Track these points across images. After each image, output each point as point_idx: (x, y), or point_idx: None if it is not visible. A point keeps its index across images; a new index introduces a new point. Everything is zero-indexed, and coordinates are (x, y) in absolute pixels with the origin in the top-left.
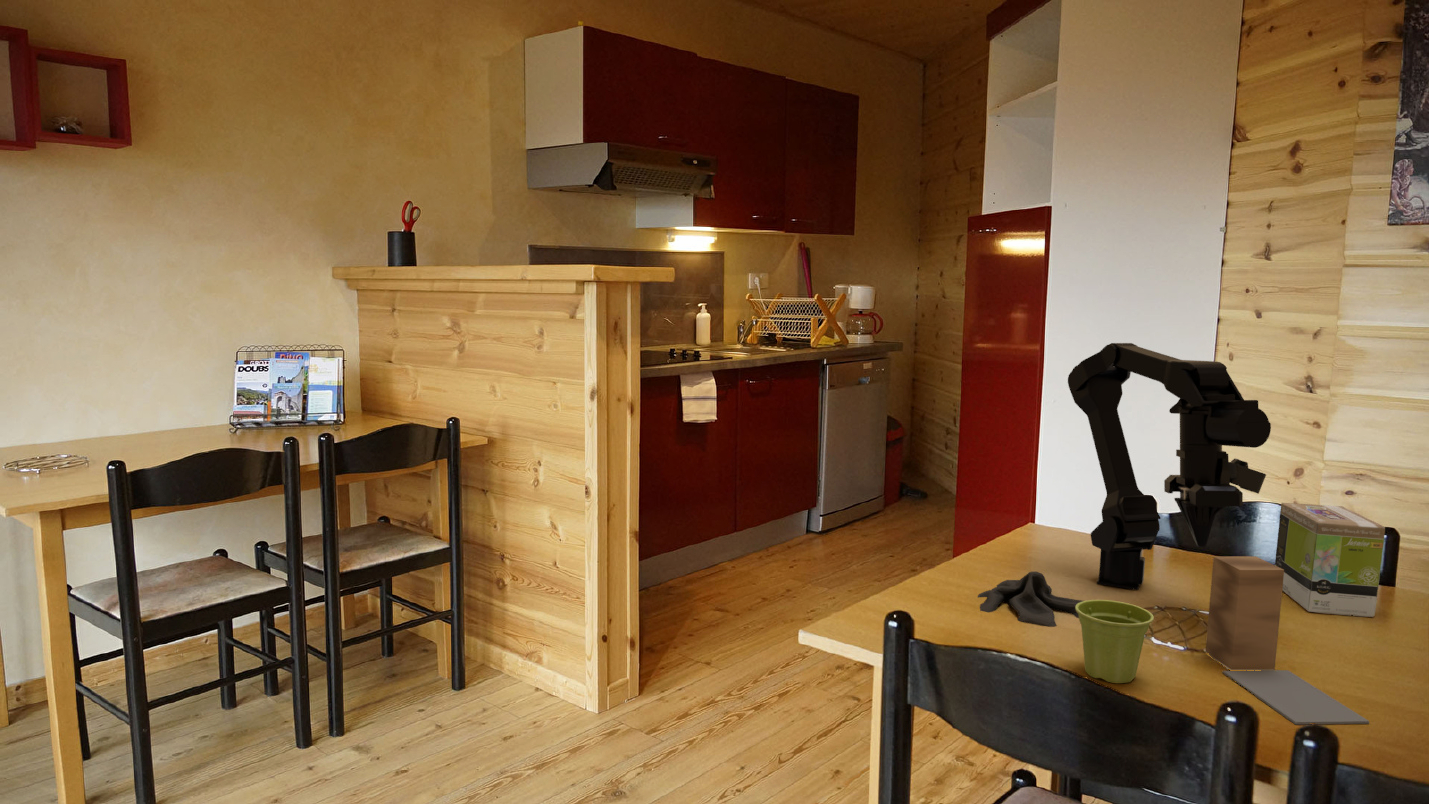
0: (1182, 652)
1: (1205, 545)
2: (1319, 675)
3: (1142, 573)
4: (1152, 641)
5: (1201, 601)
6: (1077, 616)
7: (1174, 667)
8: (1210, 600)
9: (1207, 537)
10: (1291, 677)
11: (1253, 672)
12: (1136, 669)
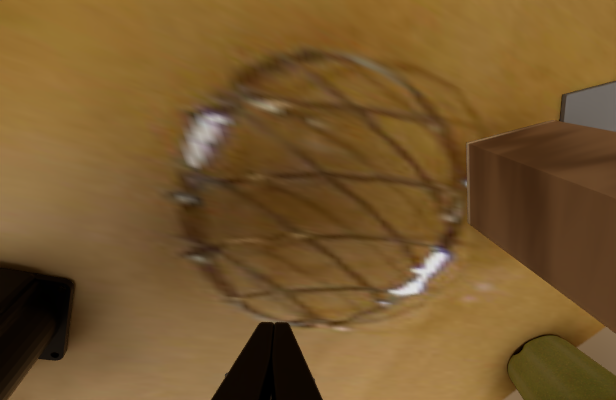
0: (461, 258)
1: (288, 326)
2: (583, 26)
3: (13, 295)
4: (412, 294)
5: (93, 135)
6: None
7: (520, 281)
8: (563, 291)
9: (305, 362)
10: (598, 104)
11: None
12: (576, 348)
